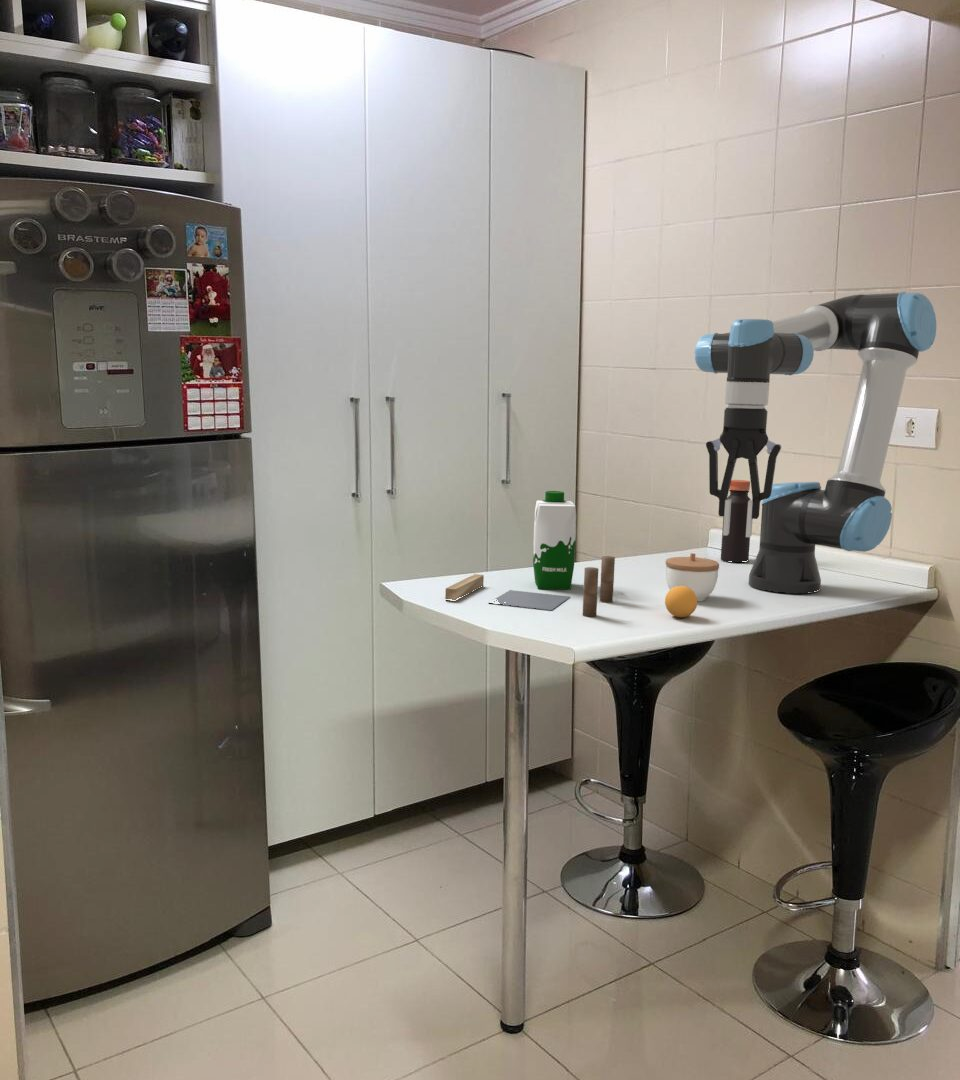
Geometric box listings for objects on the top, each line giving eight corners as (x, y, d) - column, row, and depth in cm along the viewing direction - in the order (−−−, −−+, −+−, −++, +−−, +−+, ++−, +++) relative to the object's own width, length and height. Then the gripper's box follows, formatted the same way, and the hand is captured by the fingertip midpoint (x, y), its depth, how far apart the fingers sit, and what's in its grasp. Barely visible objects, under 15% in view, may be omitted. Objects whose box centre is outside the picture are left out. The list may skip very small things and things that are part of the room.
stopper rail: (483, 586, 216) (483, 574, 215) (454, 601, 201) (454, 589, 200) (474, 585, 216) (474, 574, 216) (445, 600, 201) (445, 588, 201)
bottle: (754, 562, 252) (760, 481, 249) (734, 564, 248) (740, 482, 245) (734, 557, 258) (739, 478, 254) (714, 559, 254) (719, 479, 251)
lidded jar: (716, 594, 214) (719, 550, 212) (717, 606, 203) (720, 559, 202) (664, 591, 216) (667, 547, 214) (662, 602, 206) (665, 556, 204)
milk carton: (570, 582, 223) (574, 491, 219) (575, 591, 214) (579, 496, 210) (530, 581, 222) (533, 490, 219) (533, 590, 213) (537, 495, 210)
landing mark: (570, 597, 207) (570, 596, 207) (551, 610, 195) (551, 609, 195) (510, 590, 212) (510, 590, 212) (488, 603, 200) (488, 602, 200)
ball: (698, 615, 195) (700, 584, 194) (693, 622, 189) (695, 590, 188) (667, 611, 197) (669, 581, 196) (661, 618, 192) (663, 587, 190)
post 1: (597, 614, 193) (600, 568, 192) (594, 617, 191) (596, 570, 190) (584, 613, 194) (586, 566, 193) (581, 615, 192) (583, 569, 190)
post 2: (614, 600, 206) (616, 556, 204) (611, 603, 203) (613, 558, 202) (601, 599, 206) (603, 555, 205) (598, 601, 204) (600, 557, 203)
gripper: (795, 408, 184) (785, 536, 188) (703, 404, 190) (695, 528, 193) (792, 409, 177) (781, 542, 181) (696, 405, 183) (688, 534, 187)
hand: (737, 535), depth 187 cm, fingers open, 3 cm apart
